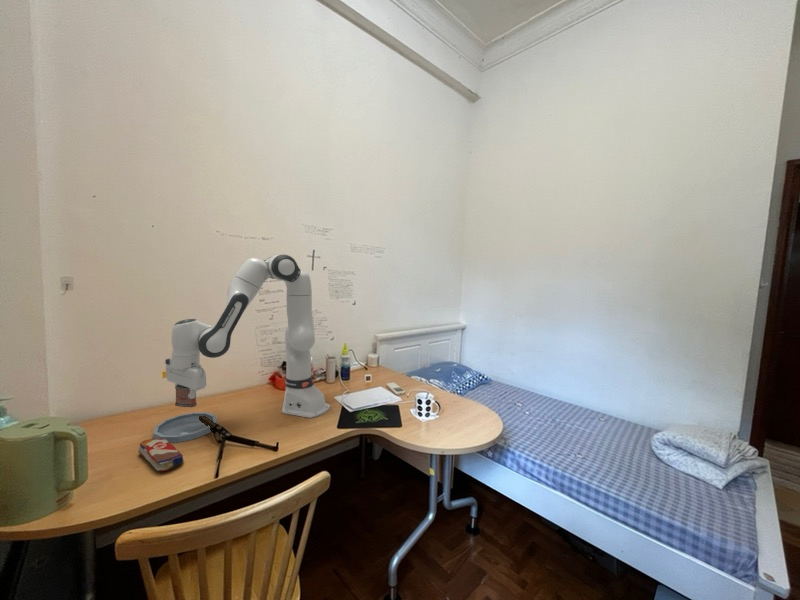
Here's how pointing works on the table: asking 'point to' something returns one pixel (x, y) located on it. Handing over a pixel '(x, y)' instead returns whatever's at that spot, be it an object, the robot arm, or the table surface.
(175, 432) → the dish
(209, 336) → the robot arm
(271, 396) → the table surface
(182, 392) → the lighter
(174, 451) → the pencil case
